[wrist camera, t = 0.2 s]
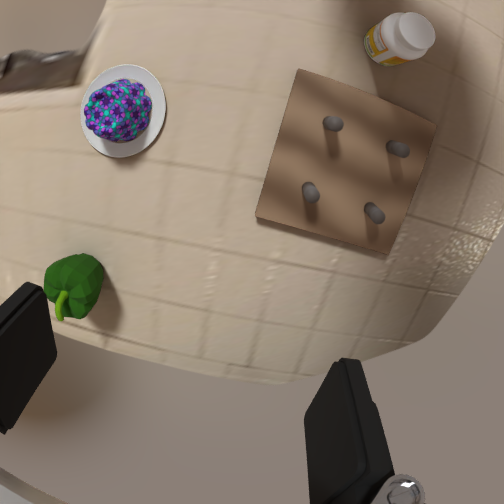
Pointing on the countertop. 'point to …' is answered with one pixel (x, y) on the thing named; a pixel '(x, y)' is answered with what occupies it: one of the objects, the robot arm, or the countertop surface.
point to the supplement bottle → (399, 38)
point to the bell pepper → (73, 285)
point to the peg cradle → (344, 163)
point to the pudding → (122, 110)
